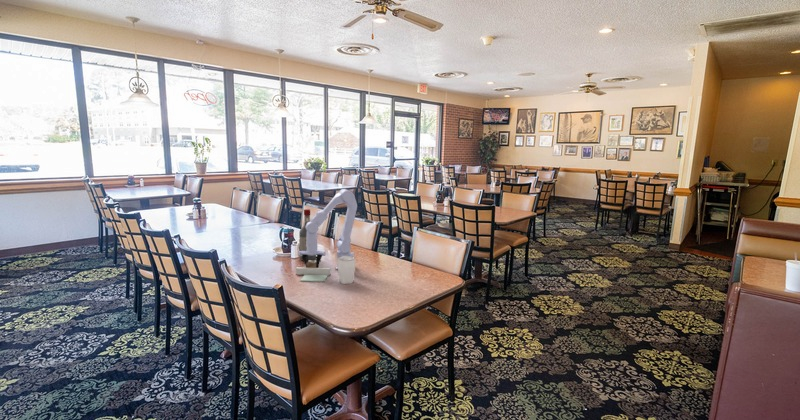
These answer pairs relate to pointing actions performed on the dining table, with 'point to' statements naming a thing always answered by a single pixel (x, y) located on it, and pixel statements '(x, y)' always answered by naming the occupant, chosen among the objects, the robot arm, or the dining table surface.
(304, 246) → the liquor
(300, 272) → the grey screen
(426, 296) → the dining table surface
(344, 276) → the cup
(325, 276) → the sage mat
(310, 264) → the walnut cube
